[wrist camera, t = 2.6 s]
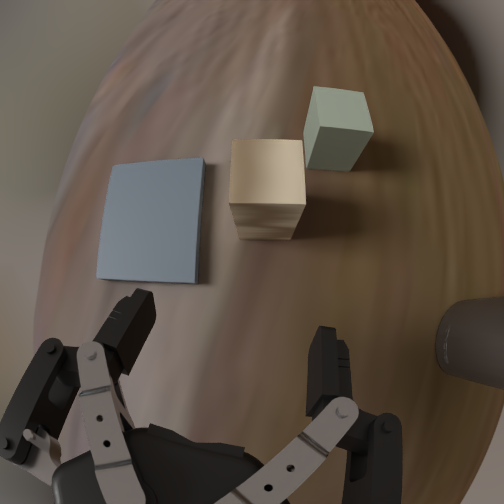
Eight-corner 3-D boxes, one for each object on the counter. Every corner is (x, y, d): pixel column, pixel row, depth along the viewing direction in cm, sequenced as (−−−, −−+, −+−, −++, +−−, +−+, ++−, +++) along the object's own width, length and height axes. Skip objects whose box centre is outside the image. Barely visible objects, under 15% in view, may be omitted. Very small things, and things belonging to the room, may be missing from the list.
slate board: (205, 164, 29) (203, 157, 28) (197, 283, 27) (194, 282, 25) (118, 170, 30) (112, 165, 28) (103, 279, 27) (96, 278, 26)
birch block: (289, 193, 29) (301, 140, 19) (290, 239, 28) (306, 204, 18) (241, 192, 29) (232, 139, 19) (239, 239, 28) (228, 203, 18)
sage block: (344, 135, 30) (363, 92, 22) (349, 171, 29) (374, 132, 21) (303, 132, 30) (313, 86, 22) (306, 168, 29) (319, 126, 21)
